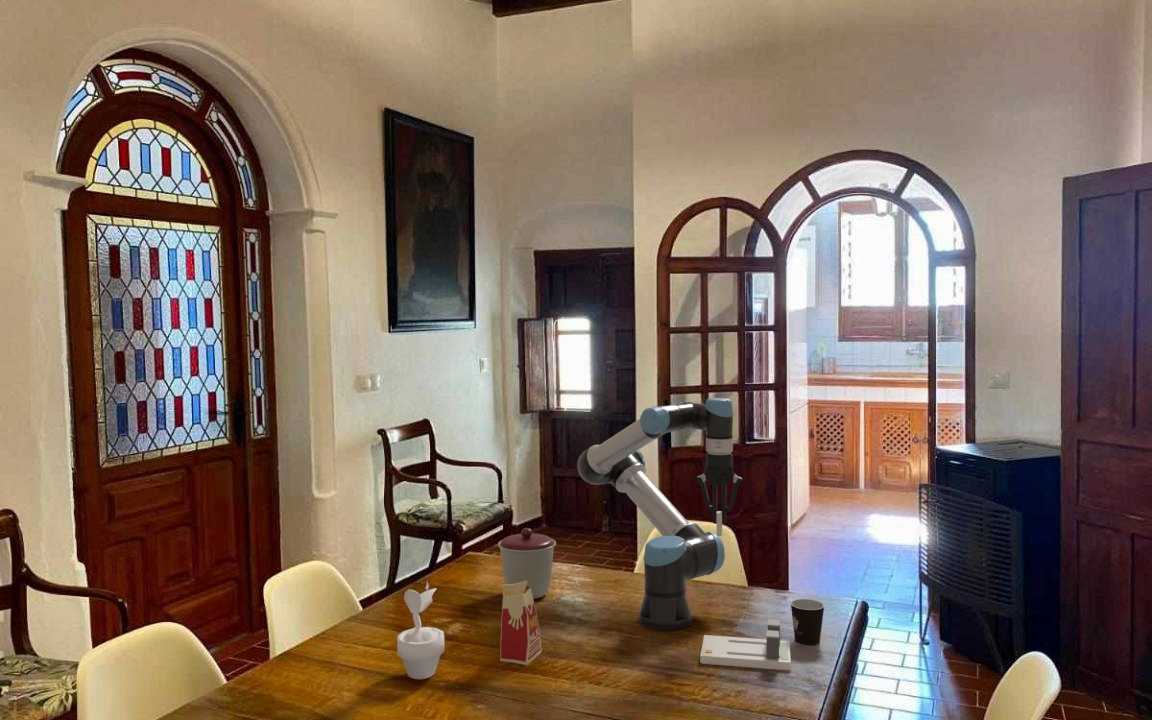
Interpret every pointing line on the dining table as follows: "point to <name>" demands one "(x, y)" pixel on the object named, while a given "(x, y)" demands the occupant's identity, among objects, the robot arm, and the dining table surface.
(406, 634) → the potted plant
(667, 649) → the dining table surface
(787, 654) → the panel
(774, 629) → the block
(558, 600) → the dining table surface
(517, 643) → the milk carton
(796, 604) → the coffee mug
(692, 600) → the dining table surface
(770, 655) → the block
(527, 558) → the canister
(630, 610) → the dining table surface
